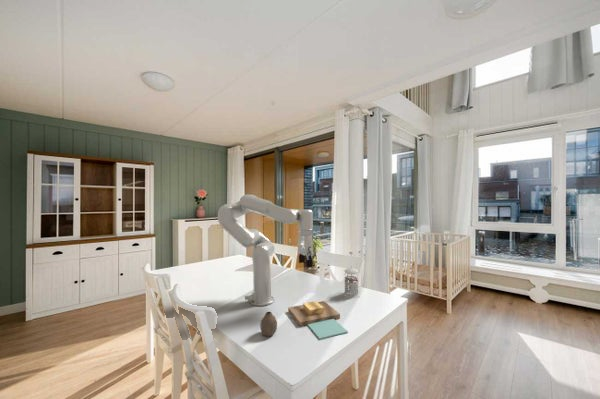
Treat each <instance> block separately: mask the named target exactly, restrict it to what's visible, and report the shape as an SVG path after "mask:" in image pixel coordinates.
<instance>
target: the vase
mask: <svg viewBox="0 0 600 399" xmlns="http://www.w3.org/2000/svg"><path fill="white" fill-rule="evenodd" d="M259 327H260V332H261V333H262V335H264V336H265V337H271V336H273V335H274V334H276V332H277V329H278V321H277V318H276V317H275V316H274V315H273V313H272V311H266V312H265V314H264V316H263V317H262V318H261V320H260V326H259Z"/></svg>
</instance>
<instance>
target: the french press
mask: <svg viewBox="0 0 600 399" xmlns="http://www.w3.org/2000/svg"><path fill="white" fill-rule="evenodd" d="M352 254H354V253H353V251H349V255H352ZM343 271H344V275H346V274H347V275H346V276H344V292H343V293H342V295H343V296H344V297H346V298H349V299H355V298H359V297H361V294H360V293H359V279H358V277H357V276H354V274H358V273H359V270H358V269H356V268H353V267H349V268H346V269H344V270H343Z"/></svg>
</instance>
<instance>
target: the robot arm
mask: <svg viewBox="0 0 600 399" xmlns="http://www.w3.org/2000/svg"><path fill="white" fill-rule="evenodd" d="M250 212H251V213H255V214H259V215H261V216H264V217H266V218H269V219H271V220H273V221H277V222H280V223H283V224H286V225H292V224H294V223H298V237H297V238H298V239H297V253H298V264H302V263H305V259H306V268H307V269H308V268H313V264H314V263H313V260H314V254H315V252H314V245H313V244H314V243H313V241H314V240H313V236H314V231H313V230H314V226H313V224H314V220H313V218H314V211H313V210H312V209H297V208H285V207H282V206H280V205H277V204H275V203H273V202H272V201H271V200H267V199H264V198H261V197H258V196H256V195H254V194H244V195H241V197H240V198H239V201H237V202H235V203H226V204H223V205H221V206H220V208H218V211H217V220H218V223H219V225H220V226H221V228H223V229H224V231H226V232H227V233H228V234H229V235H230V236H231V237H232V238H233V239H234V240H235V241H237V242H238V244H239V245H241V246H242V247H244V248H245V249H246V248H247V249H249V248H253V249H252V252H251V260H252V267H253V268H252V270H253V273H252V274H253V278H252V279H253V292H252V293H251V294H250V295H244V300H246V301H248V302H249V301H250V303H251V305H253V306H256V307H266V306H269V305H271V304H273V303H274V301H275V297H274V296H272V268H271V267H272V266H271V256H272V255H274V253H275V245H274V243H273V242H272V241H271V240H270V239H269V238H267V237H266V236H265V235H264V234H263V233H262V232H260V231H259V230H257V229H256V228H248V227H246V226H245V225H244V224H243V223H242V222H240V221H239V220H237V219H238V218H239V217H243V216H244V215H246V214H248V213H250ZM305 257H306V258H305Z"/></svg>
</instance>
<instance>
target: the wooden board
mask: <svg viewBox="0 0 600 399" xmlns="http://www.w3.org/2000/svg"><path fill="white" fill-rule="evenodd" d="M317 302H318V303H319V304H320V305H321V306H322V307H323V308H324V313H321V314H316V315H311V316H310V315H309V314H308V313H307V312H306V311H305V310H304V309H303V304H299V305H296V306H295V305H293V306H291V307H290V306H289V307H287V312H288V313H289V314H290V316H291V317H292V319H293V320H294V321H295V322H296V323H297V325H298V326H299V327H300V328H301V327H306V326H307V327H308V324H310V323H315V322H319V321H324V320H329V319H335V320H339V319H341V313H339V312H338V311H337V310H336V309H334V307H332V306H331V305H330V304H328V303H327V302H326V301H324V300H323V301H317Z"/></svg>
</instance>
